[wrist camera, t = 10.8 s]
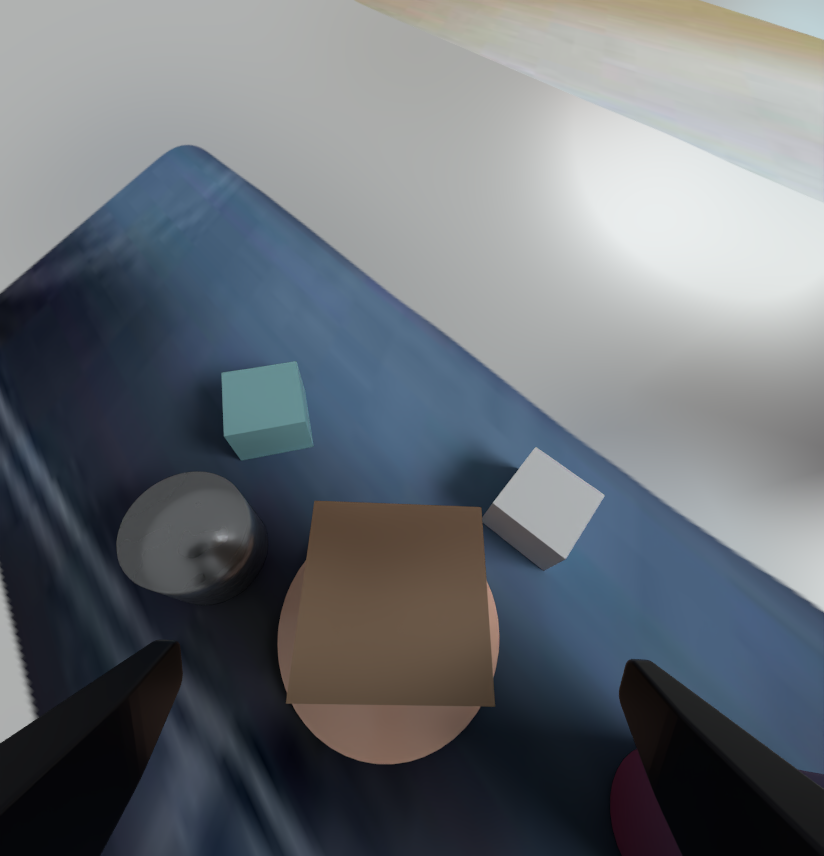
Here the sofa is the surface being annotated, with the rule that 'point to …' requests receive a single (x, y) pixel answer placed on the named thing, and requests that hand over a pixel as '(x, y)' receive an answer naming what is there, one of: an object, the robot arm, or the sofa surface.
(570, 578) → the sofa surface
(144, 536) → the metal bowl
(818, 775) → the cup
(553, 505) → the grey block
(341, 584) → the walnut block
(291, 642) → the coaster
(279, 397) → the teal block
